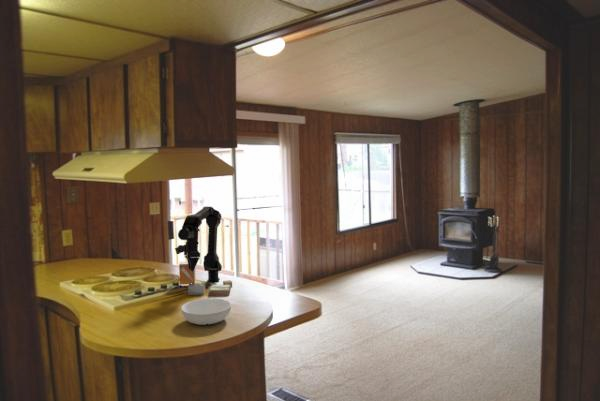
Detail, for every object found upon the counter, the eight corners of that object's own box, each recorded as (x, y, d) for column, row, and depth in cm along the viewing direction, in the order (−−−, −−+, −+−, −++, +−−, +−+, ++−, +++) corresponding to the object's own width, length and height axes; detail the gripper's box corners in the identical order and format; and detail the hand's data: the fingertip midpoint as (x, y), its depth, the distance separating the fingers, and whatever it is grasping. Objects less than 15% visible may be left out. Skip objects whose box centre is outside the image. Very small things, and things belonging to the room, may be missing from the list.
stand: (211, 290, 245) (211, 285, 245) (230, 289, 246) (230, 284, 246) (209, 296, 236) (209, 290, 235) (229, 295, 236) (229, 289, 236)
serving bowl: (173, 329, 190) (173, 312, 190) (192, 312, 211) (192, 297, 210) (223, 331, 187) (222, 314, 187) (237, 313, 208) (236, 298, 207)
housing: (190, 292, 243) (189, 282, 243) (205, 292, 244) (205, 282, 243) (188, 295, 238) (188, 285, 238) (204, 294, 239) (203, 284, 238)
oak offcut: (223, 286, 254) (223, 281, 254) (230, 285, 256) (230, 280, 255) (225, 288, 250) (224, 282, 250) (232, 287, 252) (232, 281, 252)
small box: (179, 287, 252) (178, 264, 250) (181, 284, 258) (180, 261, 257) (195, 287, 253) (194, 263, 252) (195, 284, 259) (195, 261, 258)
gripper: (174, 239, 245) (173, 268, 244) (178, 240, 228) (176, 272, 227) (196, 239, 249) (194, 268, 248) (201, 240, 232) (199, 272, 231)
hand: (191, 270), depth 238 cm, fingers open, 9 cm apart
